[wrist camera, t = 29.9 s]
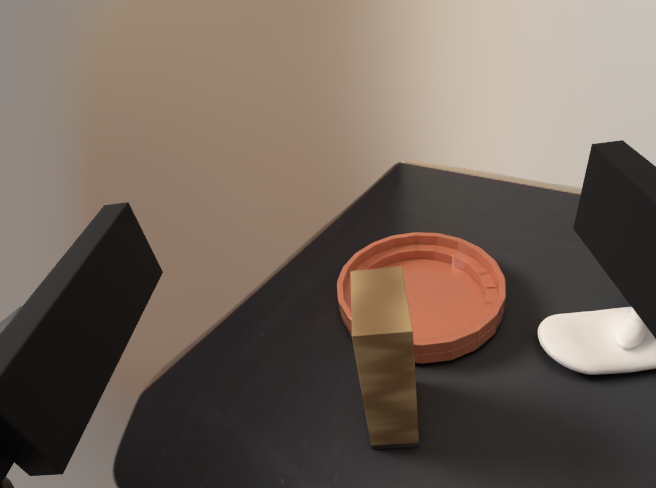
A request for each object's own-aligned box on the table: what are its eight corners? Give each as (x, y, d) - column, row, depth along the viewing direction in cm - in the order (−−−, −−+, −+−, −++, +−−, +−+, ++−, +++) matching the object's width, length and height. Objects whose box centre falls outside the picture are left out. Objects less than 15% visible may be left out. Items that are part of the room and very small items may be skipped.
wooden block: (371, 449, 34) (351, 336, 26) (368, 383, 38) (350, 271, 31) (419, 447, 33) (412, 331, 26) (409, 380, 38) (401, 265, 30)
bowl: (322, 354, 42) (317, 332, 40) (360, 249, 54) (357, 229, 52) (505, 378, 37) (508, 355, 35) (501, 257, 49) (503, 235, 47)
